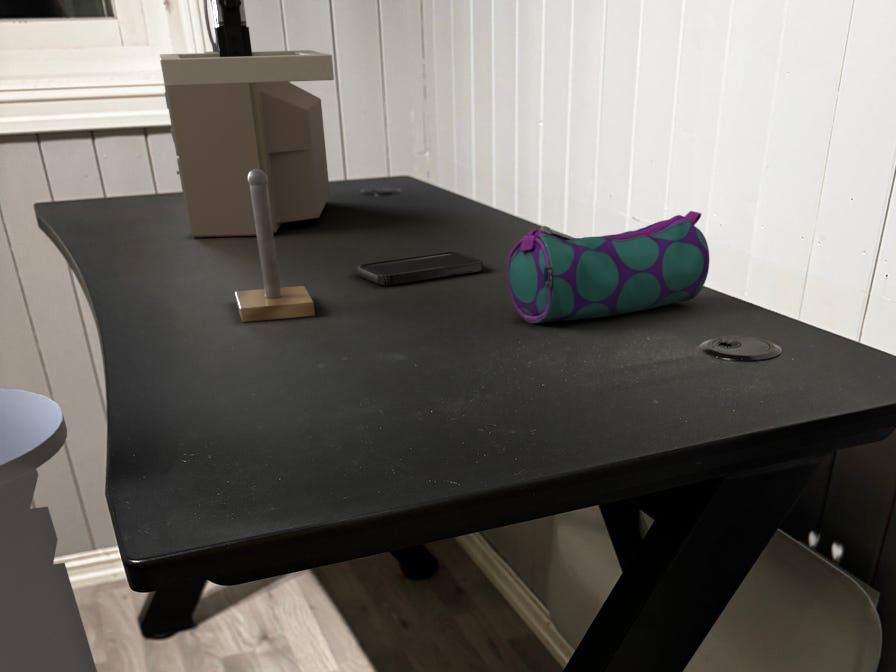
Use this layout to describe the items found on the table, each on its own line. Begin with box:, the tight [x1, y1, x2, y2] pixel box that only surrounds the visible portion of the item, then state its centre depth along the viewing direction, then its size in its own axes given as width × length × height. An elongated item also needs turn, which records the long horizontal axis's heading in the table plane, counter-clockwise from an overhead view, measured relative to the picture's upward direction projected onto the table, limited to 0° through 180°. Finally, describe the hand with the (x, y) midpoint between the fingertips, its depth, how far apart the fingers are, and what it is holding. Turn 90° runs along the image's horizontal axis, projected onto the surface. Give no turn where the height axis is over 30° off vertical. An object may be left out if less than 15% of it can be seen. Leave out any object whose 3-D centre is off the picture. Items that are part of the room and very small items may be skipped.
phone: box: [357, 251, 484, 286], centre depth 120 cm, size 8×1×15 cm
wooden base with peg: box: [234, 169, 316, 323], centre depth 103 cm, size 8×8×14 cm
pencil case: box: [506, 210, 710, 324], centre depth 101 cm, size 21×9×10 cm, turn 115°
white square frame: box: [158, 49, 335, 87], centre depth 90 cm, size 15×15×2 cm
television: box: [163, 0, 331, 238], centre depth 147 cm, size 36×20×40 cm, turn 3°
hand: (237, 71), depth 96 cm, fingers closed on white square frame, 1 cm apart
